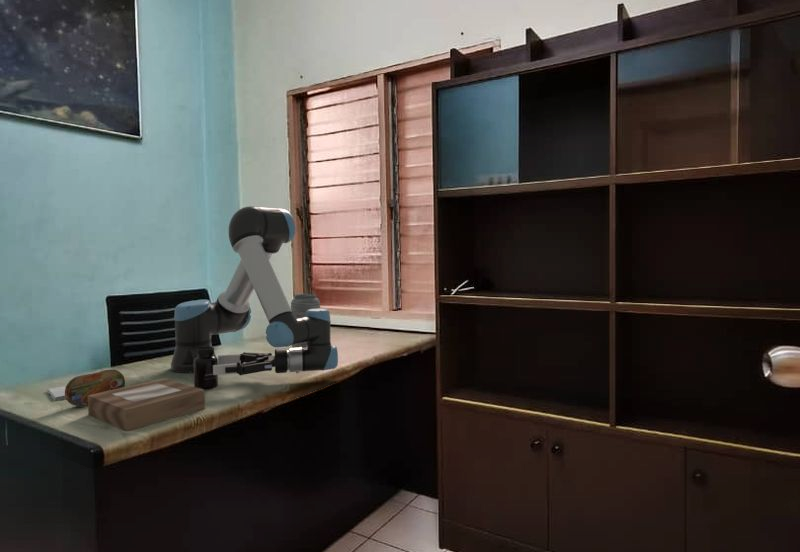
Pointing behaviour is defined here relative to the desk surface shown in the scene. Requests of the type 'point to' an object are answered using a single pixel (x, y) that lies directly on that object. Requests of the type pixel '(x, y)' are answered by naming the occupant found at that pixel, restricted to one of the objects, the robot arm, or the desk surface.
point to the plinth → (145, 403)
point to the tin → (92, 386)
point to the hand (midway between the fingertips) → (215, 364)
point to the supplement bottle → (205, 368)
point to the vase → (303, 308)
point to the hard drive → (57, 393)
